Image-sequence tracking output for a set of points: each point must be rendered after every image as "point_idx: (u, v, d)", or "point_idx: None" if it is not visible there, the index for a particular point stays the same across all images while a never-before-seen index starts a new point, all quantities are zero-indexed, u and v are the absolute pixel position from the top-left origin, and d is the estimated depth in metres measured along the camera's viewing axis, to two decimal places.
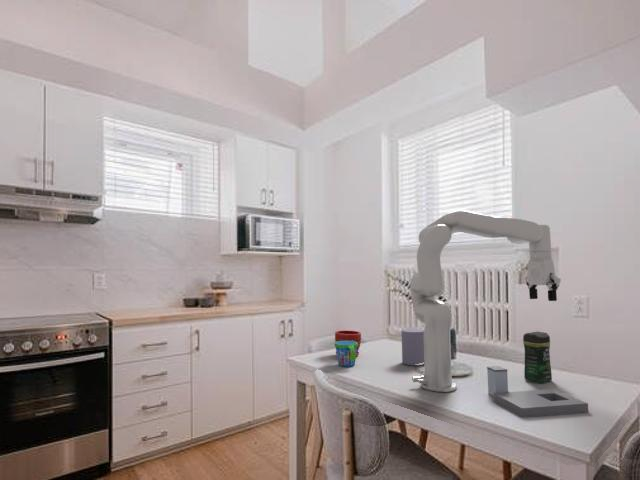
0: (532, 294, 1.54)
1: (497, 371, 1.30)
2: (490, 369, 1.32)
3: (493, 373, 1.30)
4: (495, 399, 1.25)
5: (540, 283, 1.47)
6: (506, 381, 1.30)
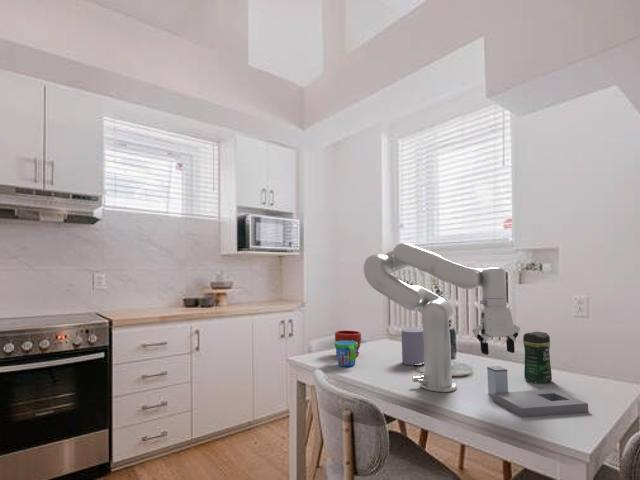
0: None
1: (497, 371, 1.30)
2: (490, 369, 1.32)
3: (493, 373, 1.30)
4: (495, 399, 1.25)
5: (508, 334, 1.30)
6: (506, 381, 1.30)
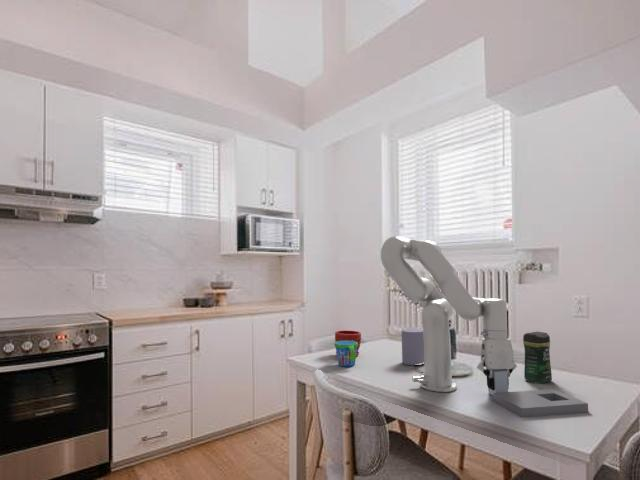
0: None
1: (497, 371, 1.30)
2: None
3: (493, 373, 1.30)
4: (495, 399, 1.25)
5: (508, 367, 1.30)
6: (506, 381, 1.30)
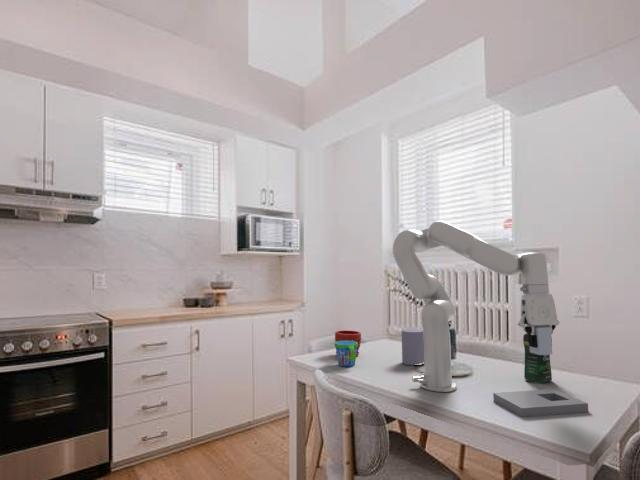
0: None
1: (540, 327, 1.23)
2: None
3: (535, 330, 1.23)
4: (495, 399, 1.25)
5: (551, 323, 1.23)
6: (549, 337, 1.23)
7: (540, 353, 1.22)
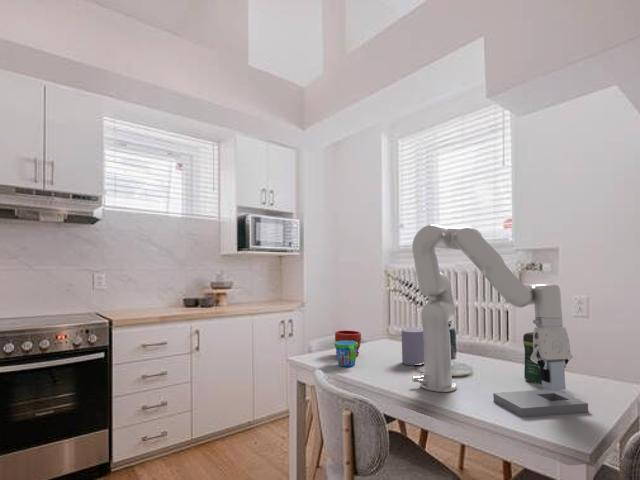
0: None
1: (553, 361, 1.20)
2: None
3: (548, 364, 1.20)
4: (495, 399, 1.25)
5: (564, 357, 1.20)
6: (563, 372, 1.20)
7: (553, 388, 1.19)
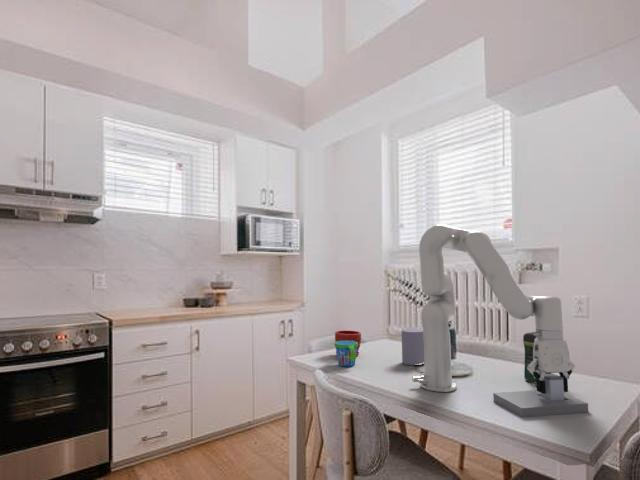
0: None
1: (552, 379, 1.20)
2: (544, 377, 1.22)
3: (548, 381, 1.20)
4: (495, 399, 1.25)
5: (564, 370, 1.20)
6: (562, 390, 1.20)
7: None
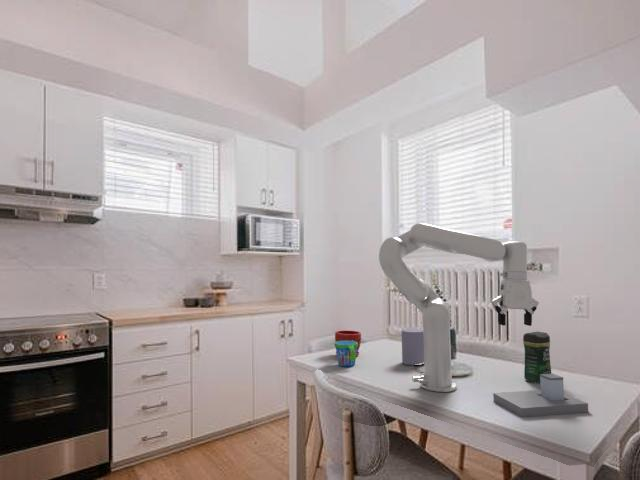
0: None
1: (552, 379, 1.20)
2: (544, 377, 1.22)
3: (548, 381, 1.20)
4: (495, 399, 1.25)
5: (526, 307, 1.33)
6: (562, 390, 1.20)
7: None
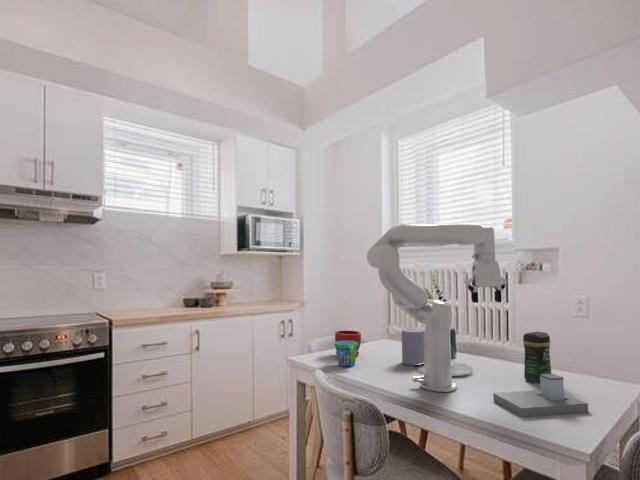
0: None
1: (552, 379, 1.20)
2: (544, 377, 1.22)
3: (548, 381, 1.20)
4: (495, 399, 1.25)
5: (496, 285, 1.47)
6: (562, 390, 1.20)
7: None
